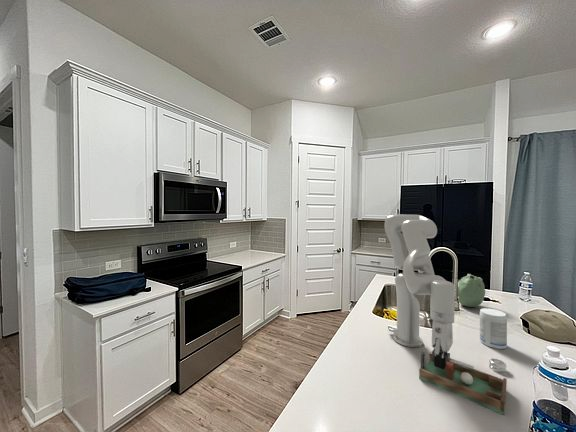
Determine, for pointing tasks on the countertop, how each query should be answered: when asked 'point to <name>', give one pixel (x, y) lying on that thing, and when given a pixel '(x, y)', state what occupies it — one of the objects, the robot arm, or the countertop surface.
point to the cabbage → (471, 291)
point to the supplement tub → (493, 328)
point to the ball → (466, 378)
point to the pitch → (481, 391)
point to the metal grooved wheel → (497, 365)
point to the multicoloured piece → (451, 364)
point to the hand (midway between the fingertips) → (441, 364)
